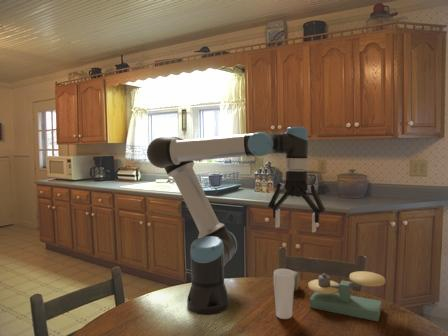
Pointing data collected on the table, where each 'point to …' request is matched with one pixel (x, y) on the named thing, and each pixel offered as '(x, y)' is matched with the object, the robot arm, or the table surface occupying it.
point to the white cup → (283, 292)
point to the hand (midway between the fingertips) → (295, 229)
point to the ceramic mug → (296, 280)
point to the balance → (346, 295)
